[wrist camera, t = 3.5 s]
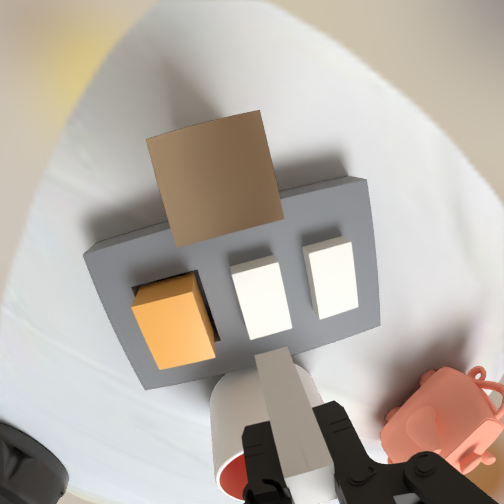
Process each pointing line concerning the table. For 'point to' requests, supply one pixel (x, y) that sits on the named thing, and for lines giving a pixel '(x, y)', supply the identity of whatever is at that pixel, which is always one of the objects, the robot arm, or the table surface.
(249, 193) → the oak post
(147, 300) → the orange rectangular block
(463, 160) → the table surface
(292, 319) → the panel
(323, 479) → the robot arm
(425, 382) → the teapot
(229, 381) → the cup
